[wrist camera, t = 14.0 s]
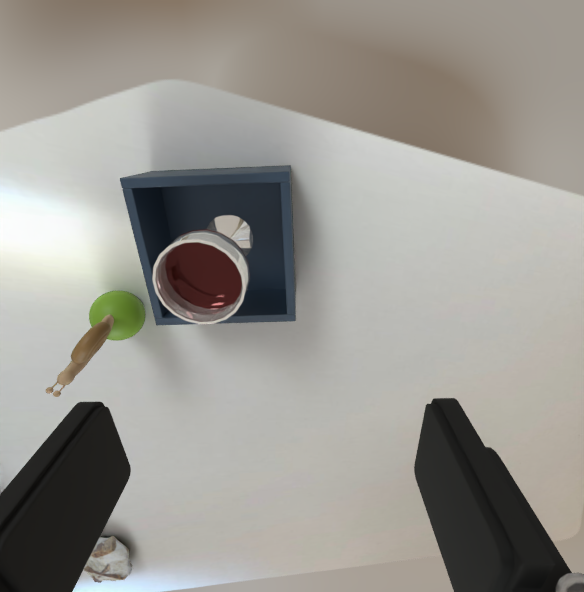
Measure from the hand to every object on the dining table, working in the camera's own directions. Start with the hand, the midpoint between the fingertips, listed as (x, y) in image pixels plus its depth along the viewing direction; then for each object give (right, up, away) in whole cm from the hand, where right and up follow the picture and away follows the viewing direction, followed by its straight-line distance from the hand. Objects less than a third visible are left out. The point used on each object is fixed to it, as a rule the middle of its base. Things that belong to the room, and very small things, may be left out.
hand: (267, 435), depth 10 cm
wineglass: (-6, +10, +25) cm, 27 cm away
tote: (-6, +10, +25) cm, 28 cm away
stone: (-33, -43, +51) cm, 74 cm away
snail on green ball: (-19, +3, +29) cm, 35 cm away
